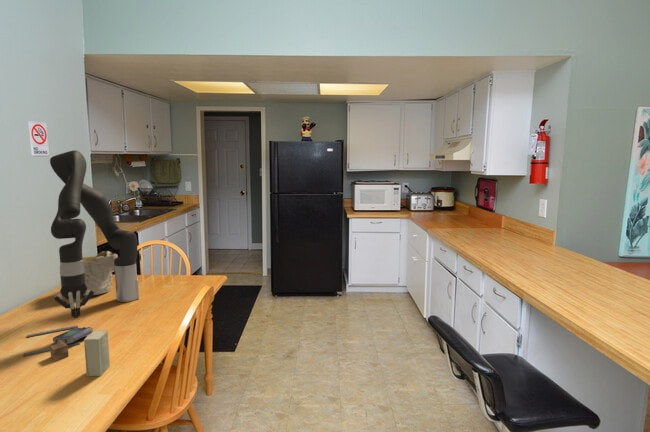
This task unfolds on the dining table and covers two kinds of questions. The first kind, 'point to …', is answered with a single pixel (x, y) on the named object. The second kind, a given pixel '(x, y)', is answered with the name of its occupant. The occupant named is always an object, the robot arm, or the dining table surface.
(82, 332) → the flask
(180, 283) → the dining table surface
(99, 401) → the dining table surface
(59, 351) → the walnut cube
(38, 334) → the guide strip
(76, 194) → the robot arm
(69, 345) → the guide strip
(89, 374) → the skincare box
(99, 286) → the ceramic vessel
